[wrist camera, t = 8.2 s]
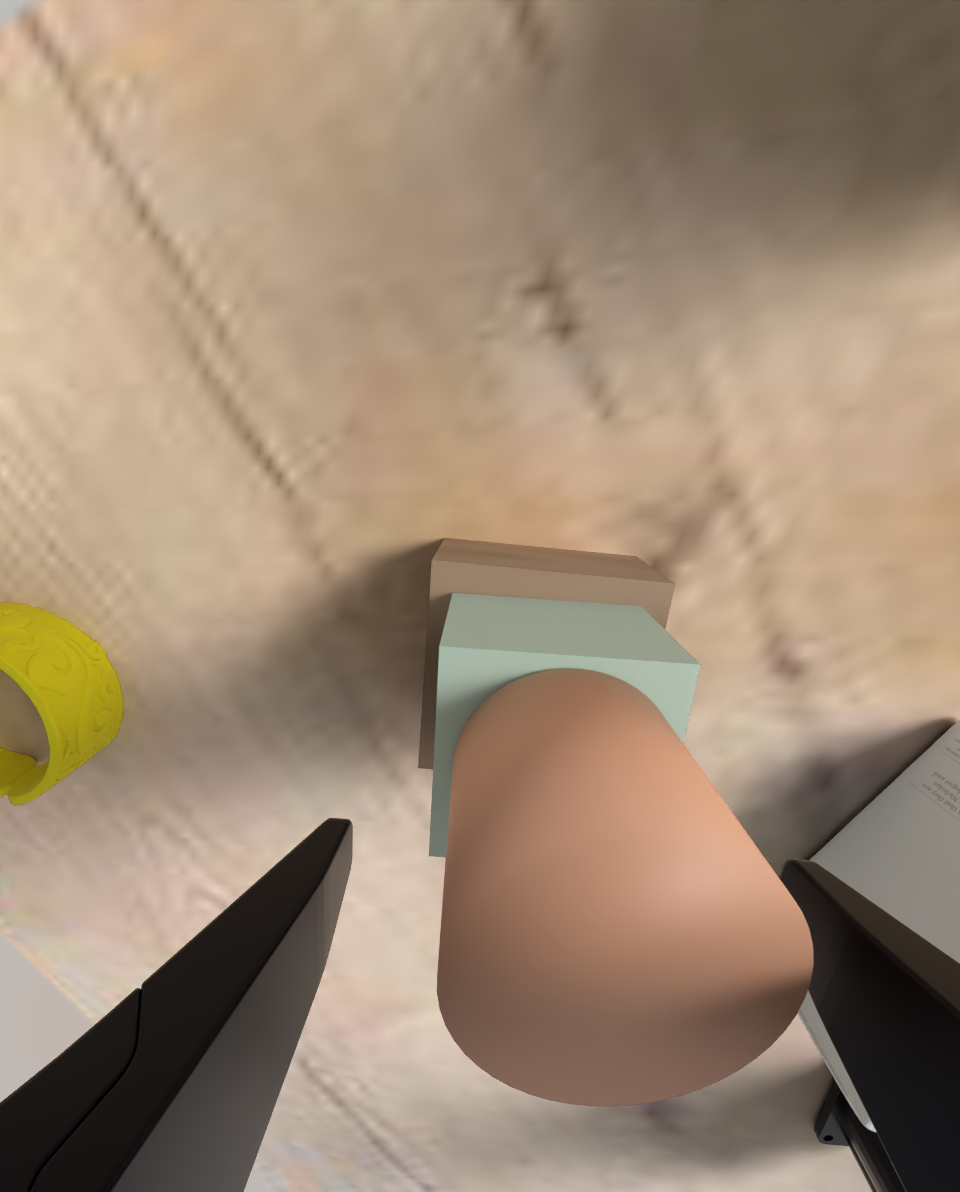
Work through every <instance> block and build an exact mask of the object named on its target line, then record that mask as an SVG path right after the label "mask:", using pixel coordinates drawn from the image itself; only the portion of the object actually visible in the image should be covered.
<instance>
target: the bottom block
mask: <svg viewBox="0 0 960 1192" xmlns="http://www.w3.org/2000/svg"><path fill="white" fill-rule="evenodd" d="M674 586H675V583H674V582H672V581H671V580H669V579H668V578H666V577H665V576H664V575H662V574H661V573H659V572H658V571H656V570H655V569H654V568H652V567H651V566H649V565H648V564H646V563H645V562H644V561H642V560H641V559H639V558H638V557H636V556H626V555H616V554H605V553H595V552H585V551H574V550H564V549H553V548H543V547H533V546H522V545H512V544H502V543H491V542H481V541H471V540H460V539H450V538H444V540H443V542H442V543H441V545H440V547H439V548H438V550H437V552H436V554H435V555H434V557H433V559H432V565H431V580H430V596H429V611H428V626H427V642H426V657H425V672H424V688H423V703H422V719H421V734H420V749H419V765H418V768H425V769H433V765H434V744H435V724H436V703H437V683H438V663H439V645H440V641H441V637H442V633H443V629H444V625H445V621H446V617H447V613H448V609H449V605H450V601H451V597H452V593H463V594H477V595H491V596H505V597H519V598H533V599H547V600H561V601H575V602H589V603H603V604H617V605H631V606H641V607H642V608H643V609H645V610H646V611H647V612H648V613H649V614H650V615H651V616H652V617H653V618H654V619H655V620H656V621H657V622H658V623H659V624H660V625H661V626H662V627H663V628H664V629H665V627H666V623H667V618H668V614H669V609H670V605H671V600H672V595H673V591H674Z"/></svg>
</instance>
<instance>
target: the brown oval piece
mask: <svg viewBox="0 0 960 1192" xmlns="http://www.w3.org/2000/svg"><path fill="white" fill-rule="evenodd" d="M813 965H814V963H813V943H812V939H811V934H810V929H809V927H808V924H807V922H806V920H805V917H804V915H803V912H802V911H801V909H800V908H799V906H798V905H797V903H796V902H795V900H794V899H793V897H792V896H791V894H790V893H789V891H788V890H787V889H786V887H785V886H784V884H783V883H782V882H781V880H780V879H779V877H778V876H777V874H776V873H775V872H774V870H773V869H772V867H771V866H770V865H769V863H768V862H767V860H766V859H765V858H764V856H763V855H762V853H761V852H760V851H759V849H758V848H757V846H756V845H755V844H754V842H753V841H752V839H751V838H750V837H749V835H748V834H747V832H746V831H745V830H744V828H743V827H742V825H741V824H740V823H739V821H738V820H737V818H736V817H735V815H734V814H733V813H732V811H731V810H730V808H729V807H728V806H727V804H726V803H725V801H724V800H723V799H722V797H721V796H720V794H719V793H718V792H717V790H716V789H715V787H714V786H713V785H712V783H711V782H710V780H709V779H708V778H707V776H706V775H705V773H704V772H703V771H702V769H701V768H700V766H699V765H698V764H697V762H696V761H695V759H694V758H693V756H692V755H691V754H690V752H689V751H688V749H687V748H686V747H685V745H684V744H683V742H682V741H681V740H680V738H679V737H678V735H677V734H676V733H675V731H674V730H673V728H672V727H671V726H670V724H669V723H668V721H667V720H666V719H665V717H664V716H663V714H662V713H661V712H660V710H659V709H658V707H657V706H656V705H655V704H654V703H653V702H652V701H651V700H650V699H649V698H648V697H647V696H646V695H645V694H644V693H642V692H641V691H640V690H639V689H637V688H636V687H634V686H632V685H631V684H629V683H627V682H626V681H623V680H621V679H619V678H617V677H614V676H612V675H608V674H605V673H601V672H598V671H592V670H585V669H556V670H548V671H543V672H539V673H535V674H532V675H529V676H526V677H523V678H520V679H518V680H516V681H514V682H512V683H510V684H507V685H506V686H504V687H503V688H501V689H499V690H498V691H496V692H495V693H494V694H492V695H491V696H490V697H489V698H487V699H486V700H485V701H484V702H483V703H482V704H481V705H480V706H479V707H478V708H477V709H476V710H475V711H474V712H473V714H472V715H471V717H470V718H469V719H468V721H467V722H466V724H465V726H464V728H463V729H462V731H461V733H460V735H459V738H458V741H457V744H456V747H455V751H454V757H453V765H452V779H451V793H450V807H449V821H448V835H447V849H446V862H445V876H444V890H443V904H442V918H441V932H440V946H439V960H438V974H437V995H438V1001H439V1007H440V1011H441V1014H442V1017H443V1020H444V1022H445V1025H446V1027H447V1029H448V1031H449V1032H450V1034H451V1036H452V1038H453V1039H454V1041H455V1042H456V1043H457V1045H458V1046H459V1047H460V1048H461V1050H462V1051H463V1052H464V1053H465V1055H466V1056H468V1057H469V1058H470V1059H471V1060H472V1061H473V1062H474V1063H475V1064H476V1065H477V1066H478V1067H480V1068H481V1069H483V1070H484V1071H485V1072H487V1073H488V1074H490V1075H491V1076H492V1077H494V1078H496V1079H498V1080H499V1081H501V1082H503V1083H505V1084H507V1085H509V1086H510V1087H513V1088H515V1089H518V1090H520V1091H523V1092H525V1093H528V1094H530V1095H534V1096H537V1097H541V1098H544V1099H548V1100H552V1101H557V1102H562V1103H568V1104H576V1105H586V1106H625V1105H637V1104H643V1103H650V1102H656V1101H661V1100H665V1099H669V1098H673V1097H677V1096H681V1095H684V1094H687V1093H690V1092H693V1091H696V1090H699V1089H701V1088H704V1087H706V1086H708V1085H711V1084H713V1083H715V1082H718V1081H720V1080H722V1079H723V1078H725V1077H727V1076H729V1075H731V1074H733V1073H734V1072H736V1071H738V1070H740V1069H741V1068H743V1067H744V1066H745V1065H747V1064H748V1063H750V1062H751V1061H753V1060H754V1059H756V1058H757V1057H758V1056H759V1055H760V1054H762V1053H763V1052H764V1051H765V1050H766V1049H768V1048H769V1047H770V1046H771V1045H772V1044H773V1043H774V1042H775V1041H776V1040H777V1039H778V1038H779V1037H780V1036H781V1035H782V1033H783V1032H784V1031H785V1030H786V1029H787V1027H788V1026H789V1024H790V1023H791V1022H792V1020H793V1019H794V1018H795V1016H796V1015H797V1013H798V1011H799V1009H800V1007H801V1005H802V1003H803V1001H804V1000H805V997H806V994H807V991H808V988H809V985H810V982H811V977H812V971H813Z"/></svg>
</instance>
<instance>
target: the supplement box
mask: <svg viewBox="0 0 960 1192" xmlns="http://www.w3.org/2000/svg"><path fill="white" fill-rule="evenodd" d="M810 861H813V862H816V863H817V864H819V865H820V866H822V867H823V868H824V869H826V870H827V871H829V872H830V873H832V874H833V875H834V876H836V877H837V878H839V879H840V880H841V881H843V882H844V883H846V884H847V885H849V886H850V887H851V888H853V889H854V890H856V891H857V892H859V893H860V894H861V895H863V896H864V897H866V898H867V899H869V900H870V901H871V902H873V903H874V904H876V905H877V906H879V907H880V908H881V909H883V910H884V911H886V912H887V913H889V914H890V915H891V916H893V917H894V918H896V919H897V920H898V921H900V922H901V923H903V924H904V925H906V926H907V927H908V928H910V929H911V930H913V931H914V932H916V933H917V934H918V935H920V936H921V937H923V938H924V939H926V940H927V941H928V942H930V943H931V944H933V945H934V946H936V947H937V948H938V949H940V950H941V951H943V952H944V953H946V954H947V955H948V956H950V957H951V958H953V959H954V960H955V961H957V962H958V963H960V720H959V721H958V722H957V723H955V724H954V725H953V726H952V727H951V728H950V729H949V730H948V731H947V732H945V733H944V734H943V735H942V736H941V737H940V738H939V739H938V740H937V741H936V742H935V743H934V744H933V745H932V746H931V747H930V748H929V749H927V750H926V751H925V752H924V753H923V754H922V755H921V756H920V757H919V758H918V759H917V760H916V761H914V762H913V763H912V764H911V765H910V766H909V767H908V768H907V769H906V770H905V771H904V772H903V773H902V774H900V775H899V776H898V777H897V778H896V779H895V780H894V781H893V782H892V783H891V784H890V785H889V786H888V787H887V788H886V789H885V790H884V791H883V792H882V793H880V794H879V795H878V796H877V797H876V798H875V799H874V800H873V801H872V802H871V803H870V804H869V805H868V806H867V807H865V808H864V809H863V810H862V811H861V812H860V813H859V814H858V815H857V816H856V817H855V818H854V819H853V820H852V821H851V822H849V823H848V824H847V825H846V826H845V827H844V828H843V829H842V830H841V831H840V832H839V833H838V834H837V835H836V836H835V837H834V838H833V839H831V840H830V841H829V842H828V843H827V844H826V845H825V846H824V847H823V848H822V849H821V850H820V851H819V852H818V853H817V854H815V855H814V856H813V857H812V858H811V859H810ZM798 1014H799V1016H800V1018H801V1020H802V1022H803V1023H804V1025H805V1027H806V1029H807V1031H808V1033H809V1034H810V1036H811V1038H812V1040H813V1042H814V1043H815V1045H816V1047H817V1049H818V1051H819V1052H820V1054H821V1056H822V1058H823V1060H824V1061H825V1063H826V1065H827V1067H828V1068H829V1070H830V1072H831V1074H832V1075H833V1077H834V1079H835V1081H836V1082H837V1084H838V1086H839V1088H840V1089H841V1091H842V1093H843V1094H844V1096H845V1098H846V1099H847V1101H848V1102H849V1104H850V1106H851V1107H852V1109H853V1111H854V1112H855V1114H856V1115H857V1117H858V1118H859V1120H860V1121H861V1123H862V1124H863V1125H864V1126H865V1127H866V1128H868V1129H869V1130H871V1131H874V1132H876V1130H875V1128H874V1126H873V1124H872V1122H871V1120H870V1118H869V1116H868V1114H867V1112H866V1110H865V1108H864V1106H863V1104H862V1102H861V1100H860V1098H859V1096H858V1094H857V1092H856V1090H855V1088H854V1086H853V1084H852V1082H851V1080H850V1078H849V1076H848V1074H847V1072H846V1070H845V1068H844V1066H843V1063H842V1061H841V1059H840V1057H839V1055H838V1053H837V1051H836V1049H835V1047H834V1045H833V1043H832V1041H831V1039H830V1037H829V1035H828V1033H827V1031H826V1029H825V1027H824V1025H823V1023H822V1021H821V1018H820V1016H819V1014H818V1012H817V1010H816V1007H815V1005H814V1003H813V1001H812V998H811V996H810V994H809V991H807V994H806V997H805V1000H804V1001H803V1003H802V1005H801V1007H800V1009H799V1011H798Z"/></svg>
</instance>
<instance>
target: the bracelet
mask: <svg viewBox="0 0 960 1192" xmlns="http://www.w3.org/2000/svg"><path fill="white" fill-rule="evenodd" d="M0 669H1V670H2V671H4V672H5V673H6V674H8V675H9V676H10V677H11V678H12V679H13V680H14V681H15V682H16V683H17V684H18V685H19V686H20V687H21V688H22V689H23V691H24V692H25V693H26V694H27V695H28V697H29V698H30V699H31V701H32V702H33V704H34V705H35V707H36V709H37V710H38V712H39V714H40V716H41V719H42V721H43V724H44V727H45V729H46V732H47V736H48V741H49V746H50V759H49V762H46V763H44V764H42V765H39V766H38V767H37V762H36V760H35V759H34V758H32V757H31V756H28V755H24V754H20V753H15V752H12V751H9V750H6V749H3V748H1V747H0V797H2V796H4V795H6V794H8V798H9V800H10V802H11V804H13V805H22V804H24V803H27V802H29V801H31V800H33V799H35V798H37V797H39V796H40V795H42V794H43V793H44V792H45V791H47V790H48V789H49V788H51V787H52V786H53V785H55V784H56V783H57V782H59V781H60V780H62V779H63V778H64V777H66V776H67V775H68V774H70V773H71V772H72V771H73V770H75V769H76V768H78V767H79V766H81V765H82V764H84V763H85V762H86V761H87V760H89V759H90V758H91V757H93V756H94V755H95V754H96V753H97V751H99V750H100V749H102V748H103V747H105V746H106V745H107V744H109V743H110V742H111V741H112V740H113V738H114V737H115V735H116V734H117V732H118V731H119V728H120V724H121V721H122V715H123V698H122V692H121V687H120V683H119V680H118V677H117V675H116V672H115V670H114V669H113V667H112V665H111V663H110V661H109V659H108V658H107V656H106V652H105V651H104V649H103V648H102V647H101V646H100V644H99V643H98V642H97V641H93V640H92V639H91V638H90V637H89V636H87V635H86V634H85V633H84V632H83V631H81V630H80V629H78V628H77V627H75V626H74V625H73V624H71V623H69V622H68V621H66V620H64V619H62V618H60V617H58V616H56V615H54V614H52V613H50V612H47V611H45V610H43V609H40V608H36V607H33V606H29V605H23V604H16V603H7V602H3V603H0Z"/></svg>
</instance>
